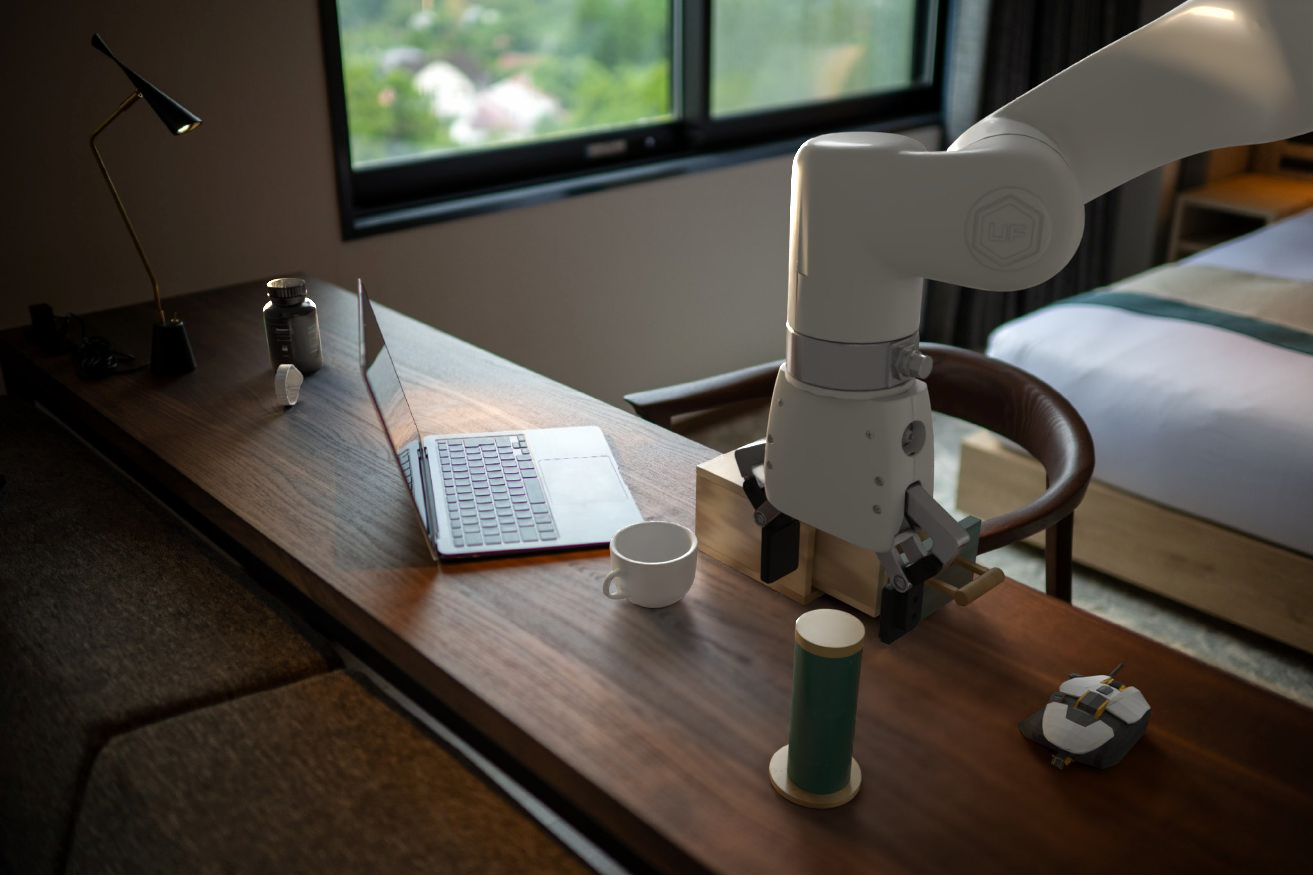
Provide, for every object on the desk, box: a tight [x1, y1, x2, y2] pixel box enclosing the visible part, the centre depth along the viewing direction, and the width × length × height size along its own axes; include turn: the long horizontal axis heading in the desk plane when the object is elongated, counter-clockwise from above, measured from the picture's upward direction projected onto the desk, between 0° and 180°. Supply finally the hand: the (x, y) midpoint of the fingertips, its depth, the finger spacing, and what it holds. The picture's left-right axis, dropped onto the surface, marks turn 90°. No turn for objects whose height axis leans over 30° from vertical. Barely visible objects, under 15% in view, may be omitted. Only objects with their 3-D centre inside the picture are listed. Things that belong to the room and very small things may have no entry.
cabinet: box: [694, 436, 827, 606], centre depth 103 cm, size 14×13×9 cm
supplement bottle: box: [262, 277, 324, 376], centre depth 147 cm, size 7×7×12 cm
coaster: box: [768, 744, 863, 810], centre depth 77 cm, size 6×6×1 cm
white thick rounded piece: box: [274, 365, 304, 406], centre depth 137 cm, size 3×5×5 cm, turn 1°
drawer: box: [812, 514, 1006, 622], centre depth 95 cm, size 17×12×7 cm
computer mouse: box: [1017, 663, 1154, 770], centre depth 81 cm, size 7×15×4 cm, turn 136°
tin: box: [787, 608, 866, 794], centre depth 74 cm, size 4×4×12 cm
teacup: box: [602, 520, 699, 609], centre depth 96 cm, size 10×8×5 cm
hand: (835, 603), depth 71 cm, fingers open, 9 cm apart
